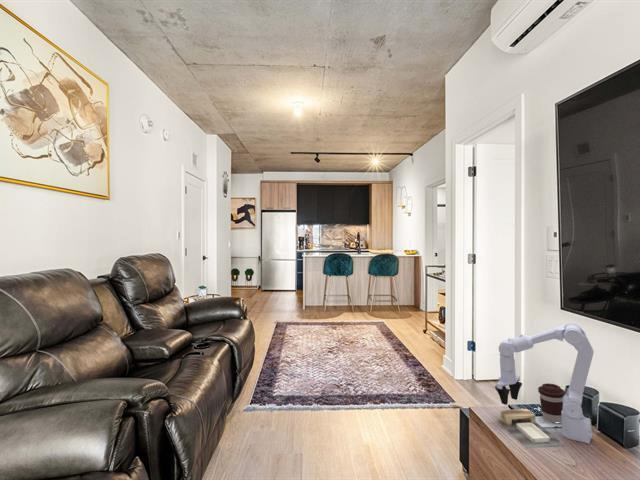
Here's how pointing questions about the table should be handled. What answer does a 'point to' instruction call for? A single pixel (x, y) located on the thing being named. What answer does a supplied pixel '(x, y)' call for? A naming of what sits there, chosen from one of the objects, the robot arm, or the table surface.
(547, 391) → the coffee cup
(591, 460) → the table surface
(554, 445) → the overhang board
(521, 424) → the tray shell
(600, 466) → the table surface
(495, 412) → the table surface
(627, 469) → the table surface
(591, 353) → the robot arm
